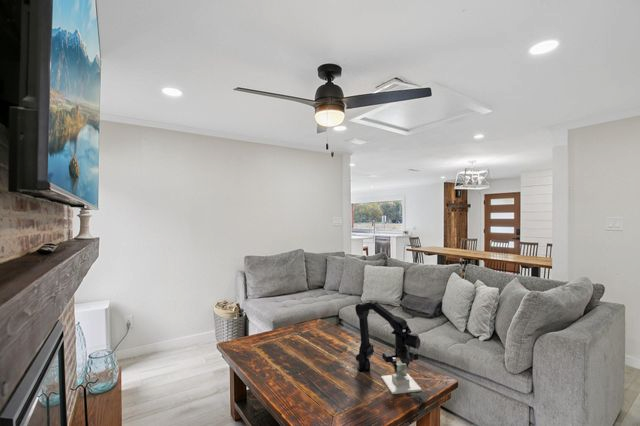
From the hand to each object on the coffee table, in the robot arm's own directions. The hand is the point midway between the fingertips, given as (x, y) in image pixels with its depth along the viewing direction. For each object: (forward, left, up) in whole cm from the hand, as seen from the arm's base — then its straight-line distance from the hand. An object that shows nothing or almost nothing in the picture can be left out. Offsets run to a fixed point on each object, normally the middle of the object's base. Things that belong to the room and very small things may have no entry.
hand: (400, 371), depth 171 cm
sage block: (0, 0, -1) cm, 1 cm away
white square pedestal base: (0, 0, -7) cm, 7 cm away
